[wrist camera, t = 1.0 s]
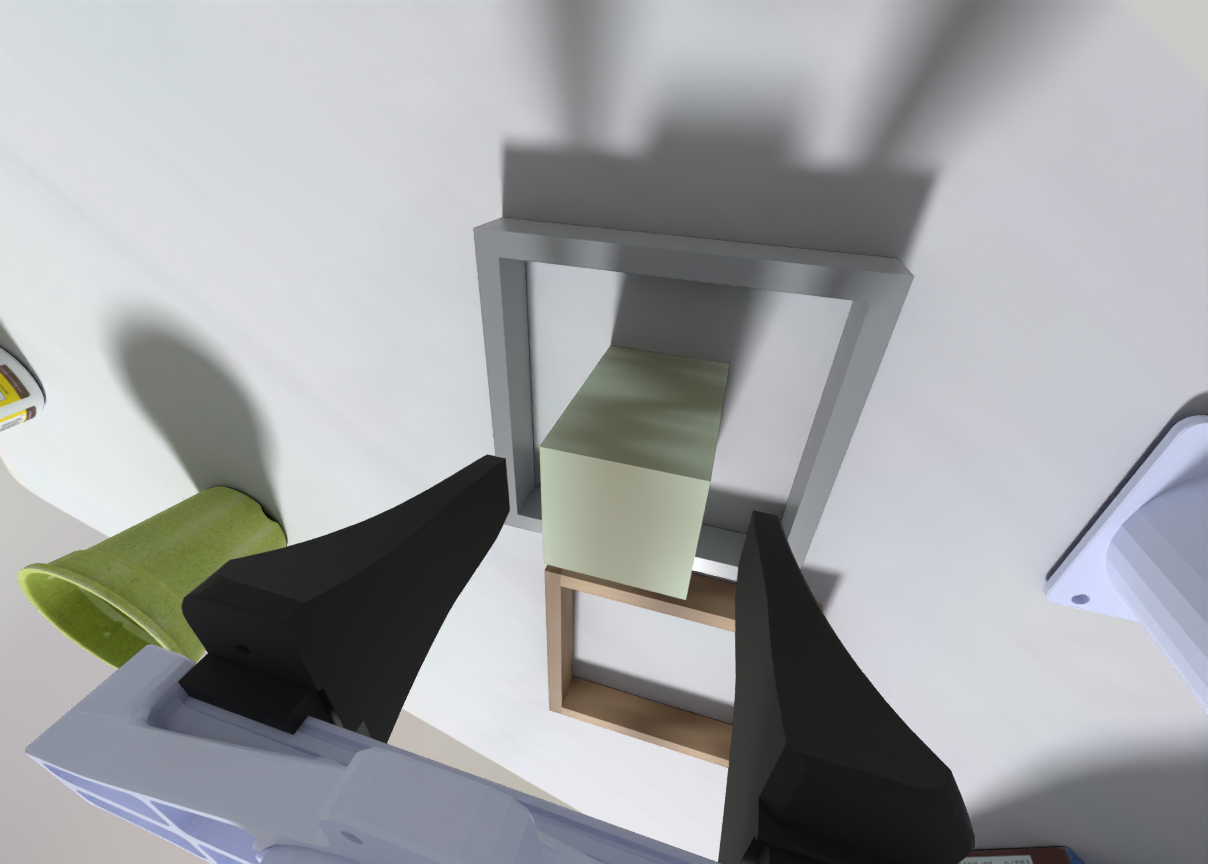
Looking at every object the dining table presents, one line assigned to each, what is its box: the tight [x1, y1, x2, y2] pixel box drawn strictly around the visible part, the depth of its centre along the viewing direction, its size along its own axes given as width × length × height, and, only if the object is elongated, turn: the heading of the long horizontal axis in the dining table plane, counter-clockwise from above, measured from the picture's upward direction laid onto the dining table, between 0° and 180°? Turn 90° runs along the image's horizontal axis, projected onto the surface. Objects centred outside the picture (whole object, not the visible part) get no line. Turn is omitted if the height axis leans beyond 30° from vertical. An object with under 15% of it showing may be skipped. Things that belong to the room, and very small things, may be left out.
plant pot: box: [17, 486, 286, 670], centre depth 29 cm, size 9×9×9 cm
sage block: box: [540, 346, 730, 600], centre depth 16 cm, size 4×4×7 cm
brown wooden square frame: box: [545, 565, 823, 768], centre depth 26 cm, size 13×13×2 cm
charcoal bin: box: [473, 218, 914, 581], centre depth 18 cm, size 13×13×2 cm
